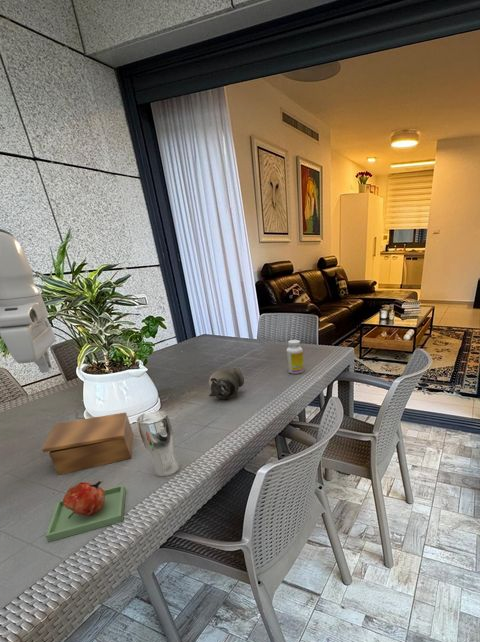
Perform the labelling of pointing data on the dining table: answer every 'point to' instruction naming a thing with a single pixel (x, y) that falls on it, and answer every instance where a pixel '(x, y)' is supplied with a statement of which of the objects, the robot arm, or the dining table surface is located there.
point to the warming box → (93, 453)
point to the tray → (82, 523)
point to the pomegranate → (84, 498)
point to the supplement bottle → (295, 357)
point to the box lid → (86, 432)
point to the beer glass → (159, 441)
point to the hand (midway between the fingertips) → (46, 370)
